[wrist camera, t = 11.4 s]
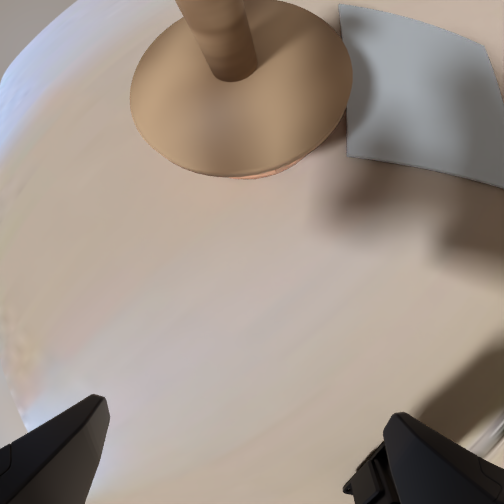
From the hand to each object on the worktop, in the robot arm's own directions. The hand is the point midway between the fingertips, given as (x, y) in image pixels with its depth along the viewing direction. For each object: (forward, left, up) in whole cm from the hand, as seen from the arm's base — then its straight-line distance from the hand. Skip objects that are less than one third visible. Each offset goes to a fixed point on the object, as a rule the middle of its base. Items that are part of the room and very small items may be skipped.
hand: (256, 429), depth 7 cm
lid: (+8, -13, -7) cm, 17 cm away
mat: (-4, -23, -12) cm, 26 cm away
